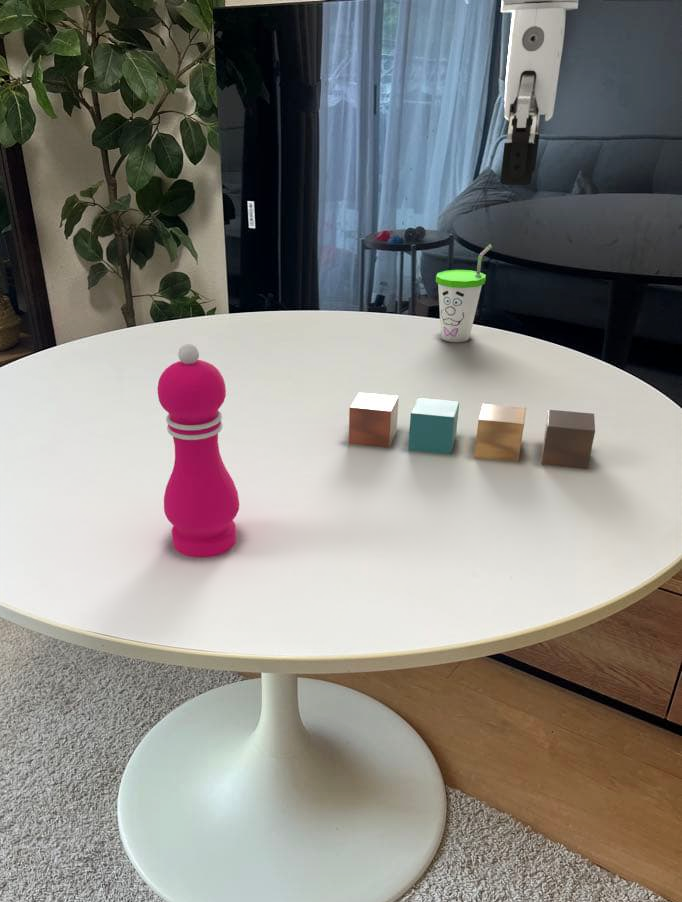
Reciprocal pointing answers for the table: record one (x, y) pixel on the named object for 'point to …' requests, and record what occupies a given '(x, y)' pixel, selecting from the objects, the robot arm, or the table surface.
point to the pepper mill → (197, 458)
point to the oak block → (500, 432)
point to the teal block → (433, 425)
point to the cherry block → (373, 420)
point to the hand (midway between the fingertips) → (517, 178)
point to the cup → (459, 300)
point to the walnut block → (568, 439)
